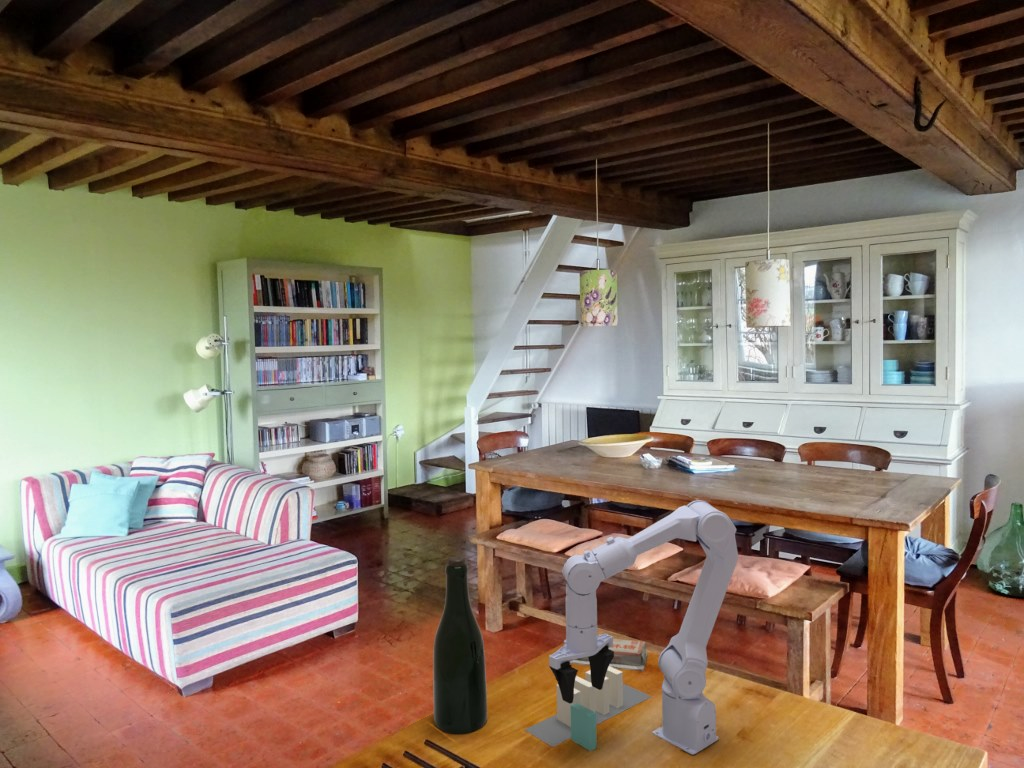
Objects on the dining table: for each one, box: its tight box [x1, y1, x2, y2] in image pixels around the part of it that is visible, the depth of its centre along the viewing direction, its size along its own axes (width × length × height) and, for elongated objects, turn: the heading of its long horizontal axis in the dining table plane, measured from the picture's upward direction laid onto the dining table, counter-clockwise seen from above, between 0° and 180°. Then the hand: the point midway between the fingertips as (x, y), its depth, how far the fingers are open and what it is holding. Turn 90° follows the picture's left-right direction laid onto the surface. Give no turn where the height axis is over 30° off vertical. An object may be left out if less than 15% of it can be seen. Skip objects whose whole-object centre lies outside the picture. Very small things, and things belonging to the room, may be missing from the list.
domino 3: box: [570, 703, 598, 752], centre depth 137 cm, size 2×5×7 cm, turn 40°
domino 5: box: [605, 666, 624, 708], centre depth 152 cm, size 2×5×7 cm, turn 40°
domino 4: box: [584, 669, 609, 715], centre depth 149 cm, size 2×5×7 cm, turn 39°
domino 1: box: [556, 683, 581, 727], centre depth 144 cm, size 2×5×7 cm, turn 40°
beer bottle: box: [432, 555, 488, 735], centre depth 145 cm, size 10×10×33 cm
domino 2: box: [574, 675, 595, 712], centre depth 146 cm, size 2×5×7 cm, turn 40°
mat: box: [524, 683, 652, 748], centre depth 148 cm, size 8×28×1 cm, turn 130°
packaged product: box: [570, 637, 649, 672], centre depth 173 cm, size 18×5×10 cm
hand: (582, 694), depth 137 cm, fingers open, 7 cm apart
